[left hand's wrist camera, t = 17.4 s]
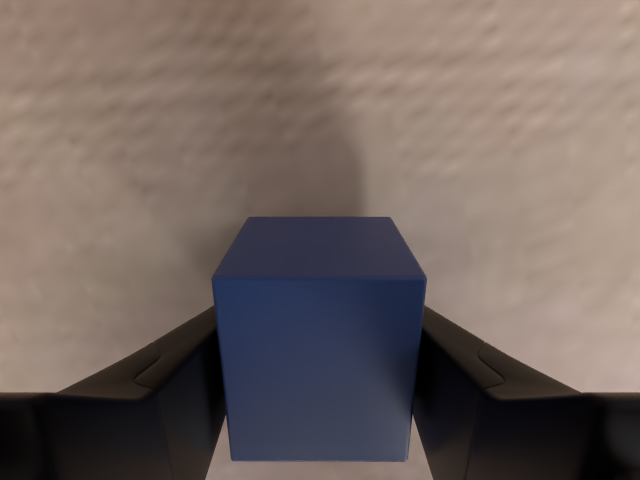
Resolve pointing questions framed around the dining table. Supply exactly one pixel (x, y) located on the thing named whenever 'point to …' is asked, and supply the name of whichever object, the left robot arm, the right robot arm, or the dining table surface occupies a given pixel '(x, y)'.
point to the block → (319, 339)
